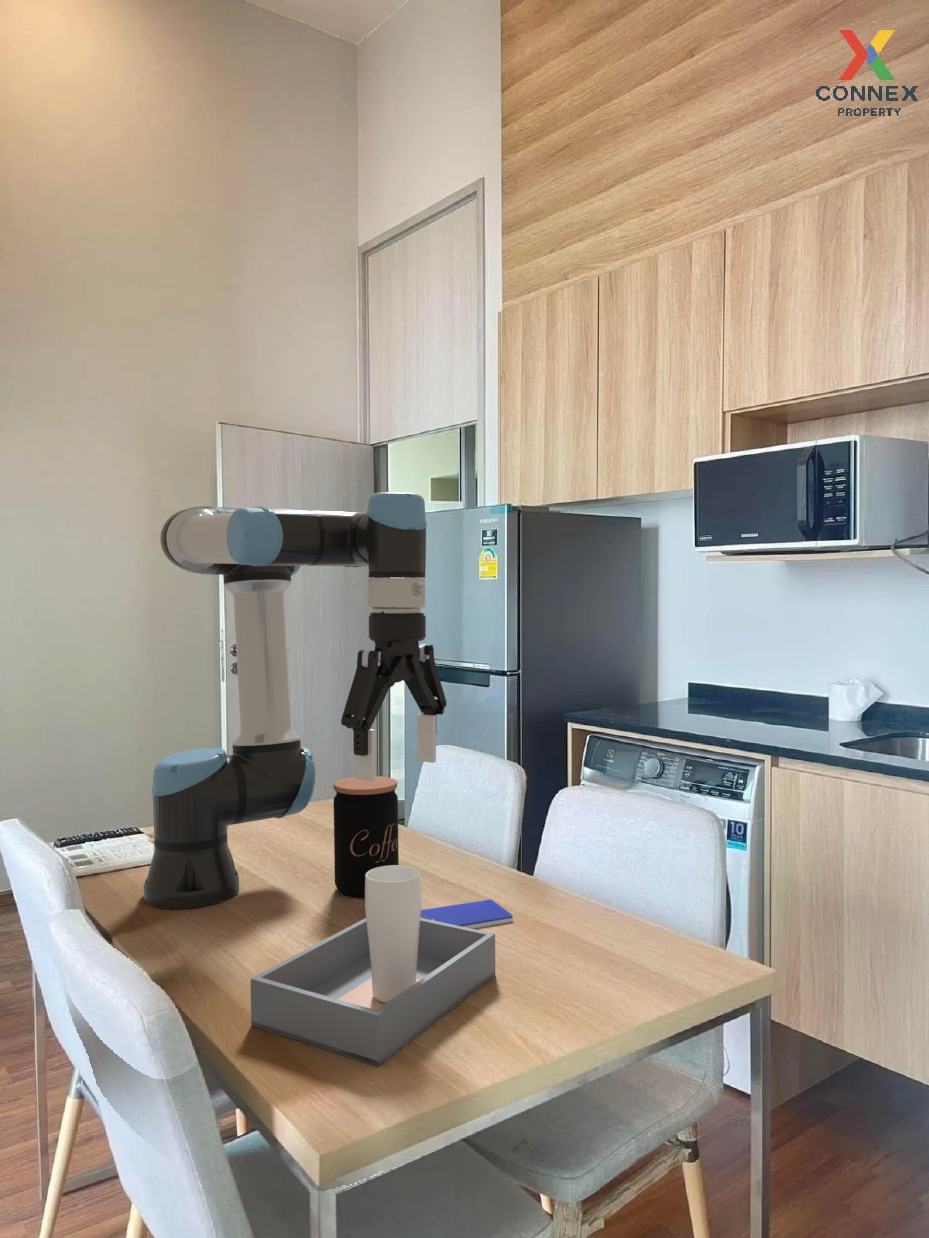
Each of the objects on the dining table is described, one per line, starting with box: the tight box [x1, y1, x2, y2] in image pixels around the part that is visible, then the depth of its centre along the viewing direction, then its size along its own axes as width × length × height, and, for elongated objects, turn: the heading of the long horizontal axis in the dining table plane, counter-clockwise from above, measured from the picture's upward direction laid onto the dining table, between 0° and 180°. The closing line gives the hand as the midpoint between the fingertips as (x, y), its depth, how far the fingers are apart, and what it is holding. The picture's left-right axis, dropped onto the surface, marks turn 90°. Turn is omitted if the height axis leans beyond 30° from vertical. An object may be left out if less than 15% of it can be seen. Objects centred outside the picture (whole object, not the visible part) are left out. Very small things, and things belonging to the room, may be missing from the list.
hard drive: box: [420, 898, 514, 929], centre depth 137 cm, size 2×8×12 cm
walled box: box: [250, 917, 496, 1068], centre depth 110 cm, size 18×26×6 cm
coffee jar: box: [332, 775, 400, 899], centre depth 151 cm, size 11×11×18 cm
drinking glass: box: [364, 864, 422, 1003], centre depth 109 cm, size 7×7×15 cm
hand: (397, 770), depth 120 cm, fingers open, 13 cm apart
